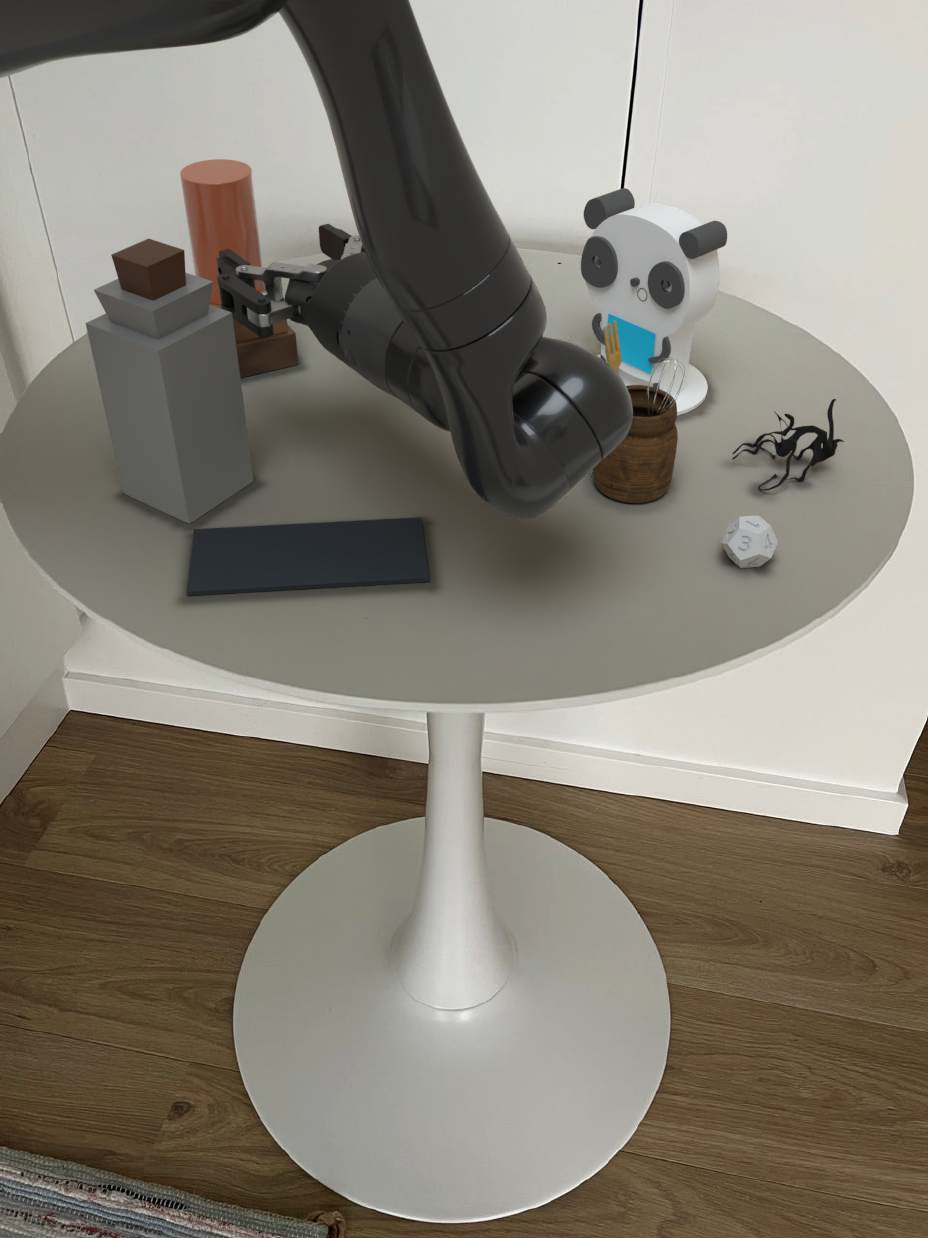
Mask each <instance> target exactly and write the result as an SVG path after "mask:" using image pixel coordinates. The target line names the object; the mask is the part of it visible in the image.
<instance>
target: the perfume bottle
mask: <svg viewBox="0 0 928 1238" xmlns="http://www.w3.org/2000/svg"><path fill="white" fill-rule="evenodd" d="M185 254H186V253H185V249H183V248H179V247H176V246H174V245H170V244H167V243H164V242H162V241H157V240H155V239H151V238H147V239H144V240H142V241H139V242H137V243H135V244H133V245H130V246H128V247H126V248H124V249H121V250H118V251H116V252H114V253H112V254H110V256H111V259H112V262H113V265H114V268H115V272H116V276H117V278H116V279H114V280H112V281H110V282H107V283H105V284H102V285H101V286H99V287H96V288H94V289H93V292H94V294H95V296H96V297H97V299H98V301H99V303H100V305H101V307H102V309H103V310H104V312H105V313H104V314H102V315H100V316H98V317H95V318H93V319H91V320H88V321H87V322H85V327H86V331H87V336H88V341H89V347H90V350H91V354H92V359H93V363H94V369H95V373H96V377H97V382H98V386H99V391H100V395H101V399H102V405H103V409H104V412H105V419H106V422H107V427H108V431H109V436H110V441H111V445H112V450H113V454H114V459H115V464H116V467H117V472H118V476H119V481H120V485H121V490H122V494H124V495H125V496H128V497H130V498H132V499H134V500H137V501H139V502H141V503H142V504H145V505H147V506H149V507H152V508H154V509H155V510H158V511H160V512H163V513H165V514H166V515H168V516H171V517H173V518H175V519H178V520H180V521H182V522H183V523H186V524H188V525H191V524H192V523H193V522H195V521H196V520H198V519H199V518H201V517H202V516H203V515H205V514H207V513H209V512H210V511H211V510H213V509H214V508H216V507H217V506H219V505H221V504H222V503H223V502H225V501H226V500H228V499H230V498H231V497H232V496H234V495H235V494H237V493H238V492H240V491H241V490H243V489H244V488H246V487H248V486H249V485H250V484H252V483H253V482H254V481H255V479H254V473H253V472H254V471H253V465H252V458H251V449H250V443H249V435H248V434H249V433H248V426H247V418H246V411H245V403H244V395H243V388H242V378H240V371H239V364H238V356H237V348H236V341H235V333H234V325H233V317H232V313H231V312H229V311H226V310H223V309H220V308H217V307H214V306H211V305H209V304H210V298H211V291H212V285H213V282H212V281H209V280H206V279H203V278H200V277H197V276H195V274H191V273H188V272H187V271H186V259H185V258H186V256H185Z"/></svg>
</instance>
